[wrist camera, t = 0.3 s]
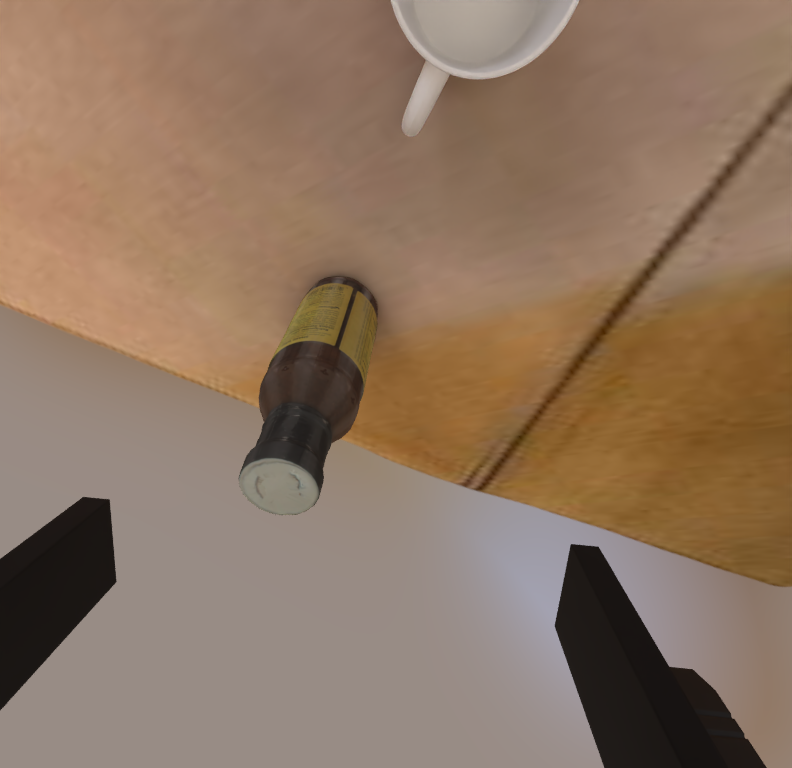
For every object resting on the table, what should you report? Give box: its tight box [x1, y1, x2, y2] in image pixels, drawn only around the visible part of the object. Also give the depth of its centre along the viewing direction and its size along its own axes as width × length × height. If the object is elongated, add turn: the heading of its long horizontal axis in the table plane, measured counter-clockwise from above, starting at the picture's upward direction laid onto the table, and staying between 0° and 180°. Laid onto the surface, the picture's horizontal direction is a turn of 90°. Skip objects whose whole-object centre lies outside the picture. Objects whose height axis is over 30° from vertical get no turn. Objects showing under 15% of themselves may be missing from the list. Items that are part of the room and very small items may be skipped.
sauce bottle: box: [239, 277, 377, 515], centre depth 33 cm, size 6×6×20 cm
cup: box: [391, 0, 579, 137], centre depth 26 cm, size 8×12×10 cm
